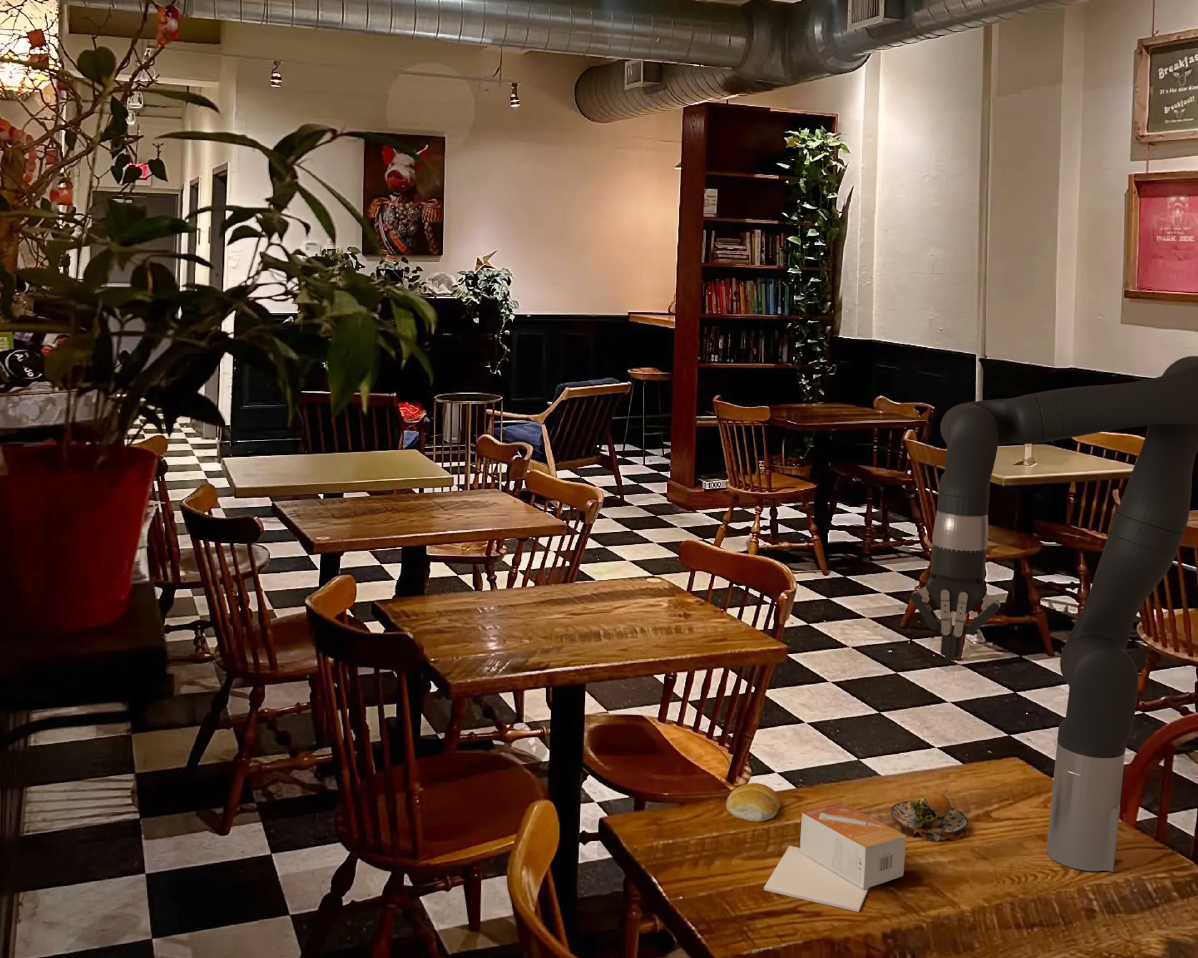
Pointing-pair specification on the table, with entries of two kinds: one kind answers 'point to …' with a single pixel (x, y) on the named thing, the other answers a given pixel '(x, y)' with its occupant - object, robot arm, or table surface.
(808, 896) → the mat
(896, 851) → the small box
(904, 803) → the burger
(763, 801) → the bread roll
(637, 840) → the table surface
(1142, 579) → the robot arm
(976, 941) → the table surface
